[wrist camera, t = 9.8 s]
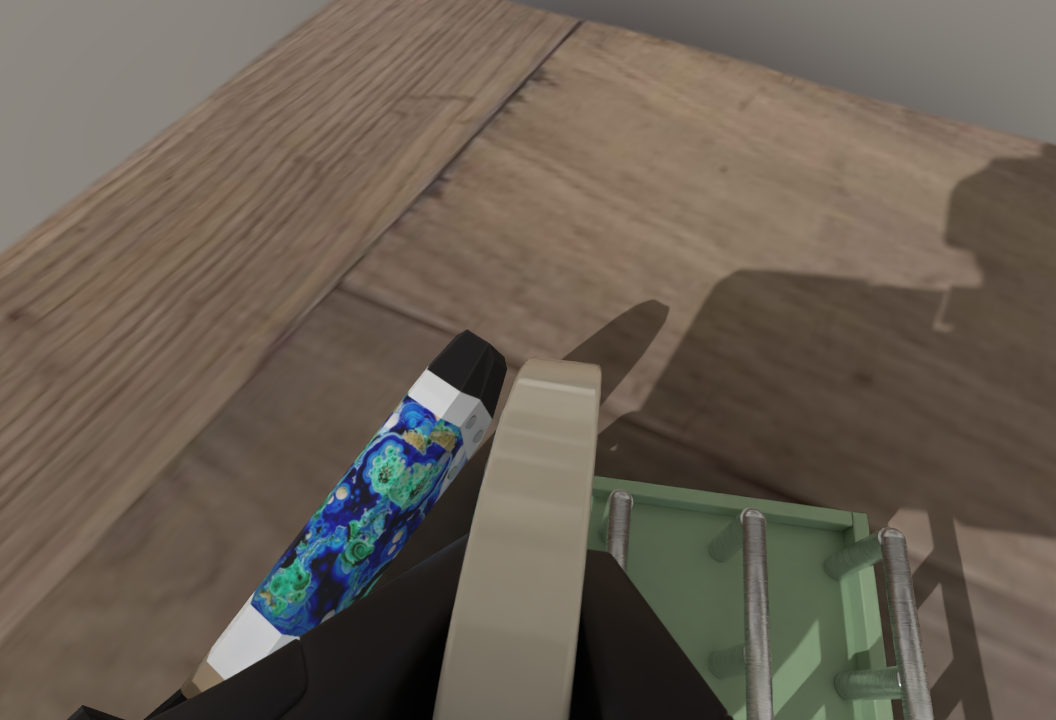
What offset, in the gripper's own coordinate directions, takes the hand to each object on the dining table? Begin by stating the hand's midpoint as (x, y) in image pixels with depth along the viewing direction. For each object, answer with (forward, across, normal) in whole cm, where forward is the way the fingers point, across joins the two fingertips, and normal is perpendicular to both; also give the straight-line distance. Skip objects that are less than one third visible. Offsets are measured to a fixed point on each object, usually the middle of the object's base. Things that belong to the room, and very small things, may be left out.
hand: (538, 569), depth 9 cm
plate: (+4, 0, +6) cm, 7 cm away
